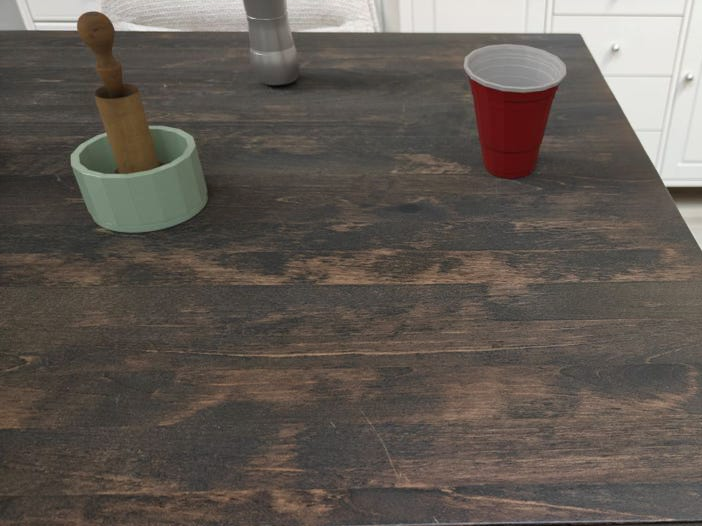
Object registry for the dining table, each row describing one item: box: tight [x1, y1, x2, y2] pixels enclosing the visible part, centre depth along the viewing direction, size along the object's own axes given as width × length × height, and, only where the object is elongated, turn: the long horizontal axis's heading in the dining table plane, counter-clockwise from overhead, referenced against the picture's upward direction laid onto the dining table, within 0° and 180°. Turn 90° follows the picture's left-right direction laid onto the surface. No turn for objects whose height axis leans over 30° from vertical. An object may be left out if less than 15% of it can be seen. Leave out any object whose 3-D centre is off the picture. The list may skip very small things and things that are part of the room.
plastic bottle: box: [242, 0, 301, 86], centre depth 97 cm, size 6×7×20 cm
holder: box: [70, 125, 209, 234], centre depth 76 cm, size 12×12×6 cm
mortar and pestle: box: [76, 10, 165, 174], centre depth 71 cm, size 7×6×18 cm
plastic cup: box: [463, 43, 567, 179], centre depth 81 cm, size 11×11×12 cm
